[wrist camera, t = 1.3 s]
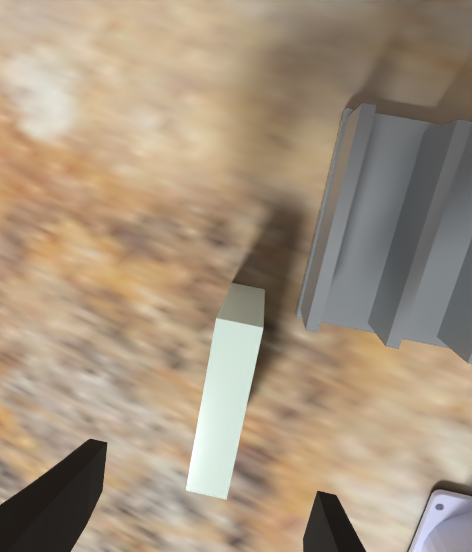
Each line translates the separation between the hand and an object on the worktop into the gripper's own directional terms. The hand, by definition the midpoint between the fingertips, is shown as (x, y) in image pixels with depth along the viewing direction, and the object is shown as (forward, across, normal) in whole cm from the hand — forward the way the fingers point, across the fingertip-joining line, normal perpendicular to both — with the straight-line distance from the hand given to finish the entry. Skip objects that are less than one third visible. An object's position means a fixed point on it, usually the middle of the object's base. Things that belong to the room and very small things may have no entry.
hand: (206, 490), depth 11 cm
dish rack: (+10, -11, -9) cm, 17 cm away
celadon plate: (+10, 0, 0) cm, 10 cm away
